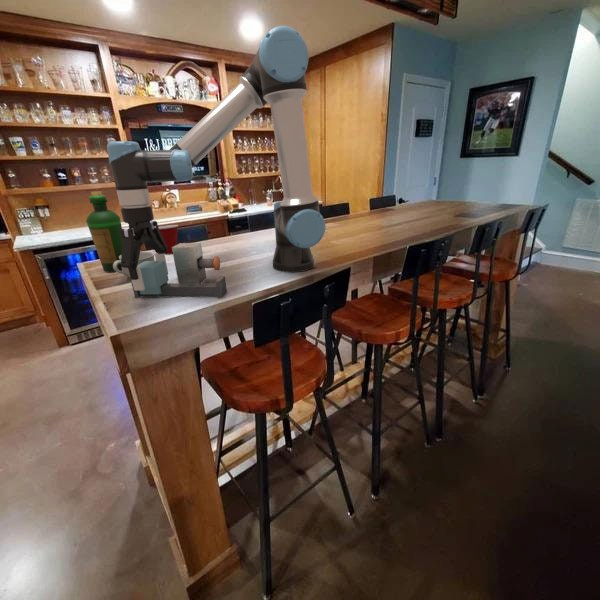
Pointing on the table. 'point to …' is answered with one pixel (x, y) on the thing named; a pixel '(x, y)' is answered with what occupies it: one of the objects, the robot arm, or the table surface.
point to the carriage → (153, 276)
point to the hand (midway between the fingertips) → (152, 281)
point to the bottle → (105, 232)
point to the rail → (189, 289)
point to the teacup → (142, 258)
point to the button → (210, 263)
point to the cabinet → (188, 262)
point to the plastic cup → (169, 236)
